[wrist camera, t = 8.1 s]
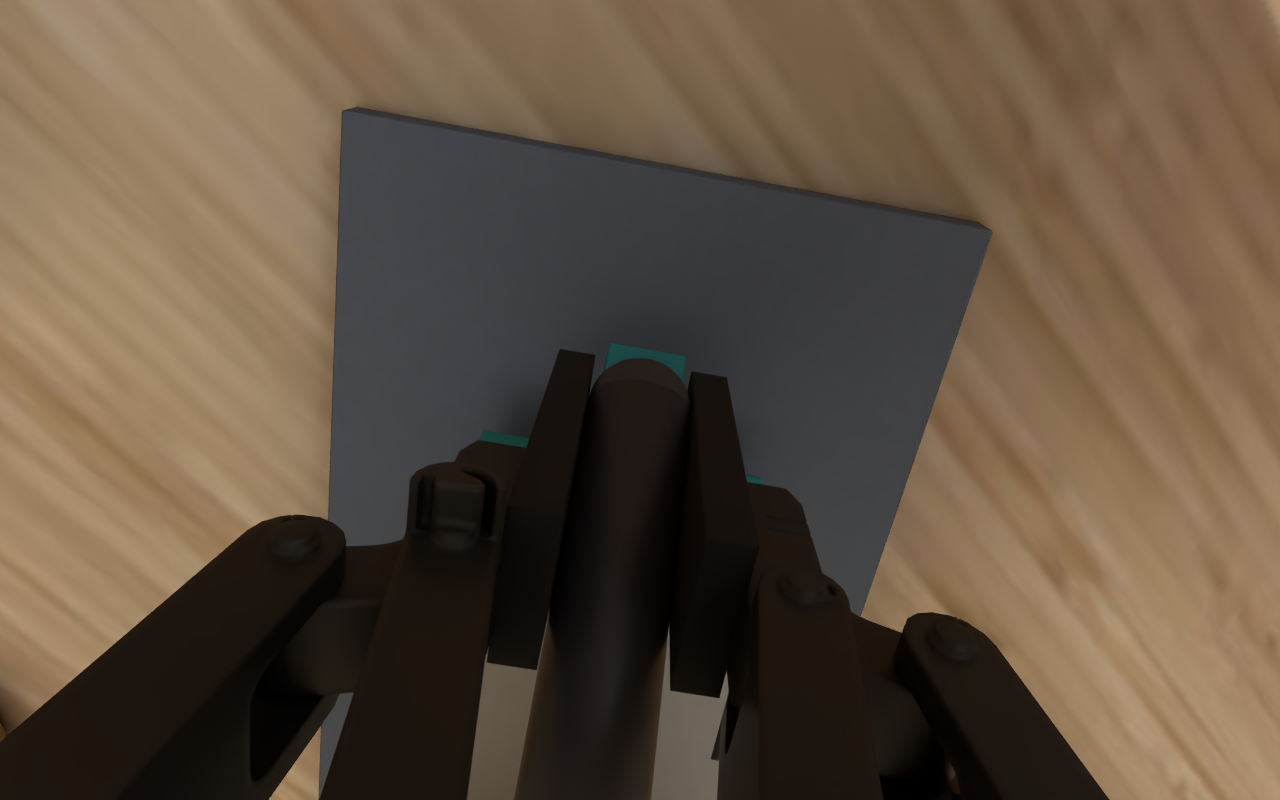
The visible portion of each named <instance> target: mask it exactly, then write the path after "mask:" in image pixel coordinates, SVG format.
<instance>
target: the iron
mask: <svg viewBox="0 0 1280 800" xmlns="http://www.w3.org/2000/svg"><path fill="white" fill-rule="evenodd" d="M685 362H686V359H685V356H682V355H676V354H670V353H665V352H659V351H653V350H648V349H642V348H636V347H631V346H625V345H619V344H614V343H610V344H609V346H608V350H607V356H606V361H605V367H604V372H603V373H602V374H601V375H600V376H599V377H598V379H597V380H596V382H595V383H594V385H593V387H592V389H591V392H590V396H589V399H588V403H587V408H586V414H585V419H584V425H583V430H582V435H581V441H580V446H579V451H578V457H577V462H576V468H575V473H574V478H573V484H572V489H571V495H570V500H569V505H568V511H567V516H566V521H565V527H564V532H563V538H562V543H561V548H560V554H559V559H558V565H557V570H556V575H555V581H554V586H553V591H552V597H551V602H550V607H549V612H548V617H547V622H546V627H545V632H544V637H543V642H542V647H541V652H540V657H539V662H538V667H537V670H531V669H524V668H518V667H511V666H505V665H498V664H492V663H487V655H488V651H487V654H486V658H485V665H484V673H483V681H482V689H481V697H480V704H479V712H478V720H477V727H476V735H475V743H474V750H473V758H472V766H471V774H470V781H469V789H468V797H467V800H717V787H718V768H719V760H718V761H716V760H712V759H711V756H712V752H713V748H714V744H715V741H716V737H717V733H718V730H719V726H720V722H721V718H722V715H723V711H724V707H725V704H726V700H727V696H728V692H729V689H728V679H727V671H726V675H725V679H724V683H723V686H722V690H721V694H720V698H714V697H707V696H701V695H694V694H688V693H681V692H675V691H670V638H669V620H670V611H671V601H672V591H673V581H674V572H675V562H676V552H677V543H678V533H679V523H680V513H681V504H682V494H683V484H684V475H685V465H686V455H687V445H688V436H689V426H690V416H691V404H690V399H689V395H688V391H687V389H686V387H685V385H684V383H683V379H684V370H685ZM480 440H482V441H488V442H494V443H500V444H506V445H512V446H519V447H525V448H526V447H527V444H528V441H529V437H523V436H517V435H511V434H505V433H499V432H494V431H488V430H483V432H482V433H481V436H480ZM746 479H747V482H750V483H756V484H762V478H761V477H757V476H751V475H746ZM488 648H489V647H488Z"/></svg>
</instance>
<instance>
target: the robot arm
mask: <svg viewBox="0 0 1280 800" xmlns="http://www.w3.org/2000/svg"><path fill="white" fill-rule="evenodd" d="M595 356H596V355H594V354H588V353H582V352H576V351H570V350H564V349H560V350H559V353H558V355H557V358H556V361H555V364H554V367H553V370H552V373H551V376H550V379H549V382H548V385H547V388H546V391H545V394H544V397H543V400H542V403H541V406H540V408H539V411H538V414H537V417H536V420H535V423H534V426H533V429H532V432H531V435H530V438H529V441H528V444H527V447H526V448H525V447H519V446H512V445H506V444H500V443H494V442H488V441H482V440H477V441H475V442H473V443H472V444H470V445H468V446H467V447H465V448H464V449H462V450H460V452H459V454H458V456H457V458H456V460H455V462H443V463H437V464H431V465H428V466H426V467H424V468H422V469H420V470H417V471H416V472H415V473H414V475H413V476H412V477H411V478H410V484H409V497H408V510H407V524H406V532H405V535H404V538H403V539H401V540H399V541H395V542H391V543H387V544H379V545H368V546H346V539H345V534H344V531H342V530H341V529H340V528H339V527H338V526H337V525H336V524H335V523H333V522H330V521H327V520H325V519H322V518H320V517H313V516H305V515H293V516H291V515H287V516H280V517H277V518H273V519H269V520H266V521H262V522H260V523H259V524H257V525H255V526H254V527H252V528H250V529H249V530H247V531H246V532H245V533H244V534H242V535H241V536H240V537H239V538H238V539H237V540H235V541H234V542H233V543H232V544H231V545H230V546H228V547H227V548H226V549H225V550H224V551H223V552H221V553H220V554H219V555H218V556H217V557H216V558H214V559H213V560H212V561H211V562H210V563H209V564H207V565H206V566H205V567H204V568H203V569H202V570H200V571H199V572H198V573H197V574H196V575H195V576H193V577H192V578H191V579H190V580H189V581H188V582H186V583H185V584H184V585H183V586H182V587H181V588H179V589H178V590H177V591H176V592H175V593H174V594H172V595H171V596H170V597H169V598H168V599H167V600H165V601H164V602H163V603H162V604H161V605H160V606H158V607H157V608H156V609H155V610H154V611H153V612H151V613H150V614H149V615H148V616H147V617H146V618H144V619H143V620H142V621H141V622H140V623H139V624H137V625H136V626H135V627H134V628H133V629H132V630H130V631H129V632H128V633H127V634H126V635H124V636H123V637H122V638H121V639H120V640H119V641H117V642H116V643H115V644H114V645H113V646H112V647H110V648H109V649H108V650H107V651H106V652H105V653H103V654H102V655H101V656H100V657H99V658H98V659H96V660H95V661H94V662H93V663H92V664H91V665H89V666H88V667H87V668H86V669H85V670H84V671H82V672H81V673H80V674H79V675H78V676H77V677H75V678H74V679H73V680H72V681H71V682H70V683H68V684H67V685H66V686H65V687H64V688H63V689H61V690H60V691H59V692H58V693H57V694H56V695H54V696H53V697H52V698H51V699H50V700H49V701H47V702H46V703H45V704H44V705H43V706H42V707H40V708H39V709H38V710H37V711H36V712H35V713H33V714H32V715H31V716H30V717H29V718H28V719H26V720H25V721H24V722H23V723H22V724H21V725H19V726H18V727H17V728H16V729H15V730H14V731H12V732H11V733H10V734H9V735H8V736H7V737H5V738H4V739H3V740H2V741H1V742H0V800H269V798H270V797H271V795H272V794H273V792H274V791H275V790H276V788H277V787H278V785H279V784H280V783H281V781H282V780H283V778H284V777H285V776H286V774H287V773H288V771H289V770H290V768H291V767H292V766H293V764H294V763H295V761H296V760H297V759H298V757H299V756H300V754H301V753H302V752H303V750H304V749H305V747H306V746H307V744H308V743H309V742H310V740H311V739H312V737H313V736H314V735H315V733H316V732H317V730H318V729H319V728H320V726H321V725H322V723H323V722H324V720H325V719H326V718H327V716H328V715H329V713H330V712H331V711H332V709H333V708H334V706H335V704H336V701H337V699H338V697H339V694H343V693H354V694H353V697H352V700H351V703H350V706H349V709H348V712H347V715H346V719H345V722H344V725H343V728H342V731H341V734H340V737H339V740H338V743H337V747H336V750H335V753H334V756H333V759H332V762H331V765H330V768H329V771H328V774H327V778H326V781H325V784H324V787H323V790H322V793H321V796H320V799H319V800H467V797H468V789H469V781H470V774H471V766H472V758H473V750H474V743H475V735H476V727H477V720H478V712H479V704H480V697H481V689H482V681H483V673H484V665H485V658H486V654H487V651H488V655H487V663H492V664H498V665H505V666H511V667H518V668H524V669H531V670H537V667H538V662H539V657H540V652H541V647H542V642H543V637H544V632H545V627H546V622H547V617H548V612H549V607H550V602H551V597H552V591H553V586H554V581H555V575H556V570H557V565H558V559H559V554H560V548H561V543H562V538H563V532H564V527H565V521H566V516H567V511H568V505H569V500H570V495H571V489H572V484H573V478H574V473H575V468H576V462H577V457H578V451H579V446H580V441H581V435H582V430H583V425H584V419H585V414H586V408H587V403H588V399H589V393H590V387H591V381H592V374H593V368H594V362H595ZM687 391H688V395H689V399H690V404H691V416H690V426H689V436H688V445H687V455H686V465H685V475H684V484H683V494H682V504H681V513H680V523H679V533H678V543H677V552H676V562H675V572H674V581H673V591H672V601H671V611H670V620H669V638H670V691H675V692H681V693H688V694H694V695H701V696H707V697H714V698H720V694H721V690H722V686H723V683H724V679H725V675H726V671H727V679H728V689H729V692H728V696H727V700H726V704H725V707H724V711H723V715H722V718H721V722H720V726H719V730H718V733H717V737H716V741H715V744H714V748H713V752H712V756H711V759H712V760H716V761H718V760H719V768H718V787H717V800H1109V799H1108V797H1107V796H1106V795H1105V793H1104V792H1103V791H1102V789H1101V788H1100V786H1099V785H1098V784H1097V782H1096V781H1095V780H1094V778H1093V777H1092V776H1091V774H1090V773H1089V771H1088V770H1087V769H1086V767H1085V766H1084V765H1083V763H1082V762H1081V761H1080V759H1079V758H1078V757H1077V755H1076V754H1075V752H1074V751H1073V750H1072V748H1071V747H1070V746H1069V744H1068V743H1067V742H1066V740H1065V739H1064V738H1063V736H1062V735H1061V733H1060V732H1059V731H1058V729H1057V728H1056V727H1055V725H1054V724H1053V723H1052V721H1051V720H1050V719H1049V717H1048V716H1047V714H1046V713H1045V712H1044V710H1043V709H1042V708H1041V706H1040V705H1039V704H1038V702H1037V701H1036V699H1035V698H1034V697H1033V695H1032V694H1031V693H1030V691H1029V690H1028V689H1027V687H1026V686H1025V685H1024V683H1023V682H1022V680H1021V679H1020V678H1019V676H1018V675H1017V674H1016V672H1015V671H1014V670H1013V668H1012V667H1011V666H1010V664H1009V663H1008V661H1007V660H1006V659H1005V657H1004V656H1003V655H1002V653H1001V652H1000V651H999V649H998V648H997V646H996V645H995V644H994V643H993V642H992V641H991V640H990V639H989V638H988V637H987V636H986V635H985V634H984V633H982V632H981V631H979V630H978V629H976V628H974V627H973V626H971V625H970V624H969V623H967V622H965V621H963V620H961V619H957V618H956V617H952V616H949V615H943V614H938V613H933V612H931V613H917V614H915V615H913V616H911V617H910V618H908V619H907V621H906V624H905V626H904V629H903V632H902V633H901V632H898V631H895V630H892V629H890V628H887V627H884V626H881V625H878V624H876V623H873V622H871V621H868V620H866V619H864V618H862V617H859V616H858V615H856V614H854V613H853V612H851V609H850V604H849V599H848V597H847V595H846V593H845V591H844V589H843V588H842V587H841V586H840V585H838V584H837V583H836V582H835V581H834V580H833V579H832V578H830V577H828V576H826V575H824V574H823V573H822V569H821V566H820V563H819V560H818V556H817V553H816V550H815V546H814V543H813V540H812V537H810V535H811V533H810V530H809V527H808V524H806V522H807V520H806V517H805V513H804V510H803V507H802V504H801V503H800V502H799V501H798V500H797V499H796V498H795V497H794V496H793V495H792V494H791V493H790V492H789V491H788V490H787V489H786V488H780V487H774V486H768V485H762V484H756V483H750V482H747V479H746V474H745V469H744V464H743V458H742V453H741V448H740V443H739V438H738V432H737V427H736V422H735V417H734V412H733V407H732V401H731V396H730V391H729V386H728V381H727V377H723V376H717V375H712V374H706V373H700V372H694V371H691V375H690V380H689V385H688V390H687ZM488 647H489V648H488Z"/></svg>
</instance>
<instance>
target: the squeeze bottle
mask: <svg viewBox="0 0 1280 800" xmlns="http://www.w3.org/2000/svg"><path fill="white" fill-rule="evenodd" d="M5 737H6V733H5V731H4V729H3V727H2V725H1V723H0V742H1V741H2V740H3V739H4V738H5Z"/></svg>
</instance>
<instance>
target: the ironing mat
mask: <svg viewBox="0 0 1280 800" xmlns="http://www.w3.org/2000/svg"><path fill="white" fill-rule="evenodd" d="M991 235H992V230H990V229H989V228H987V227H985V226H984V225H982V224H980V223H979V222H974V221H968V220H963V219H957V218H952V217H947V216H941V215H936V214H930V213H925V212H920V211H914V210H909V209H903V208H898V207H893V206H887V205H882V204H877V203H871V202H866V201H860V200H855V199H850V198H844V197H839V196H833V195H828V194H823V193H817V192H812V191H807V190H801V189H796V188H790V187H785V186H780V185H774V184H769V183H763V182H758V181H753V180H747V179H742V178H737V177H731V176H726V175H720V174H715V173H710V172H704V171H699V170H693V169H688V168H683V167H677V166H672V165H666V164H661V163H656V162H650V161H645V160H640V159H634V158H629V157H623V156H618V155H613V154H607V153H602V152H596V151H591V150H586V149H580V148H575V147H570V146H564V145H559V144H553V143H548V142H543V141H537V140H532V139H526V138H521V137H516V136H510V135H505V134H499V133H494V132H489V131H483V130H478V129H473V128H467V127H462V126H456V125H451V124H446V123H440V122H435V121H429V120H424V119H419V118H413V117H408V116H403V115H397V114H392V113H386V112H381V111H376V110H370V109H365V108H359V107H355V108H351V109H347V110H343V111H342V126H341V156H340V185H339V215H338V244H337V274H336V303H335V332H334V362H333V391H332V421H331V450H330V480H329V509H328V521H330V522H333V523H335V524H336V525H337V526H338V527H339V528H340V529H341V530H342V531H344V534H345V539H346V546H368V545H379V544H387V543H391V542H395V541H399V540H401V539H403V538H404V535H405V532H406V524H407V510H408V497H409V484H410V478H411V477H412V476H413V475H414V473H415V472H416V471H417V470H420V469H422V468H424V467H426V466H428V465H431V464H437V463H443V462H455V460H456V458H457V456H458V454H459V452H460V450H462V449H464V448H465V447H467V446H468V445H470V444H472V443H473V442H475V441H477V440H480V436H481V433H482V432H483V430H488V431H494V432H499V433H505V434H511V435H517V436H523V437H529V438H530V435H531V432H532V429H533V426H534V423H535V420H536V417H537V414H538V411H539V408H540V406H541V403H542V400H543V397H544V394H545V391H546V388H547V385H548V382H549V379H550V376H551V373H552V370H553V367H554V364H555V361H556V358H557V355H558V353H559V350H560V349H564V350H570V351H576V352H582V353H588V354H594V355H596V356H595V362H594V368H593V374H592V381H591V387H590V392H591V389H592V387H593V385H594V383H595V382H596V380H597V379H598V377H599V376H600V375H601V374H602V373H603V372H604V367H605V361H606V356H607V350H608V346H609V344H610V343H614V344H619V345H625V346H631V347H636V348H642V349H648V350H653V351H659V352H665V353H670V354H676V355H682V356H685V359H686V362H685V370H684V379H683V383H684V385H685V387H686V389H687V390H688V385H689V380H690V375H691V371H694V372H700V373H706V374H712V375H717V376H723V377H727V381H728V386H729V391H730V396H731V401H732V407H733V412H734V417H735V422H736V427H737V432H738V438H739V443H740V448H741V453H742V458H743V464H744V469H745V474H746V475H751V476H757V477H761V478H762V485H768V486H774V487H780V488H786V489H787V490H788V491H789V492H790V493H791V494H792V495H793V496H794V497H795V498H796V499H797V500H798V501H799V502H800V503H801V504H802V507H803V510H804V513H805V517H806V520H807V522H806V524H808V527H809V530H810V533H811V535H810V537H812V540H813V543H814V546H815V550H816V553H817V556H818V560H819V563H820V566H821V569H822V573H823V574H824V575H826V576H828V577H830V578H832V579H833V580H834V581H835V582H836V583H837V584H838V585H840V586H841V587H842V588H843V589H844V591H845V593H846V595H847V597H848V599H849V604H850V609H851V612H853V613H854V614H856V615H858V616H859V617H860V616H861V613H862V610H863V607H864V604H865V602H866V599H867V596H868V593H869V590H870V587H871V584H872V581H873V578H874V575H875V572H876V570H877V567H878V564H879V561H880V558H881V555H882V552H883V549H884V546H885V543H886V540H887V538H888V535H889V532H890V529H891V526H892V523H893V520H894V517H895V514H896V511H897V508H898V506H899V503H900V500H901V497H902V494H903V491H904V488H905V485H906V482H907V479H908V476H909V474H910V471H911V468H912V465H913V462H914V459H915V456H916V453H917V450H918V447H919V444H920V442H921V439H922V436H923V433H924V430H925V427H926V424H927V421H928V418H929V415H930V412H931V410H932V407H933V404H934V401H935V398H936V395H937V392H938V389H939V386H940V383H941V380H942V378H943V375H944V372H945V369H946V366H947V363H948V360H949V357H950V354H951V351H952V348H953V346H954V343H955V340H956V337H957V334H958V331H959V328H960V325H961V322H962V319H963V317H964V314H965V311H966V308H967V305H968V302H969V299H970V296H971V293H972V290H973V287H974V285H975V282H976V279H977V276H978V273H979V270H980V267H981V264H982V261H983V258H984V255H985V253H986V250H987V247H988V244H989V241H990V238H991ZM589 396H590V393H589ZM353 694H354V693H343V694H339V697H338V699H337V701H336V704H335V706H334V708H333V709H332V711H331V712H330V713H329V715H328V716H327V718H326V719H325V720H324V722H323V723H322V725H321V745H320V775H319V799H320V796H321V793H322V790H323V787H324V784H325V781H326V778H327V774H328V771H329V768H330V765H331V762H332V759H333V756H334V753H335V750H336V747H337V743H338V740H339V737H340V734H341V731H342V728H343V725H344V722H345V719H346V715H347V712H348V709H349V706H350V703H351V700H352V697H353Z"/></svg>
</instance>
